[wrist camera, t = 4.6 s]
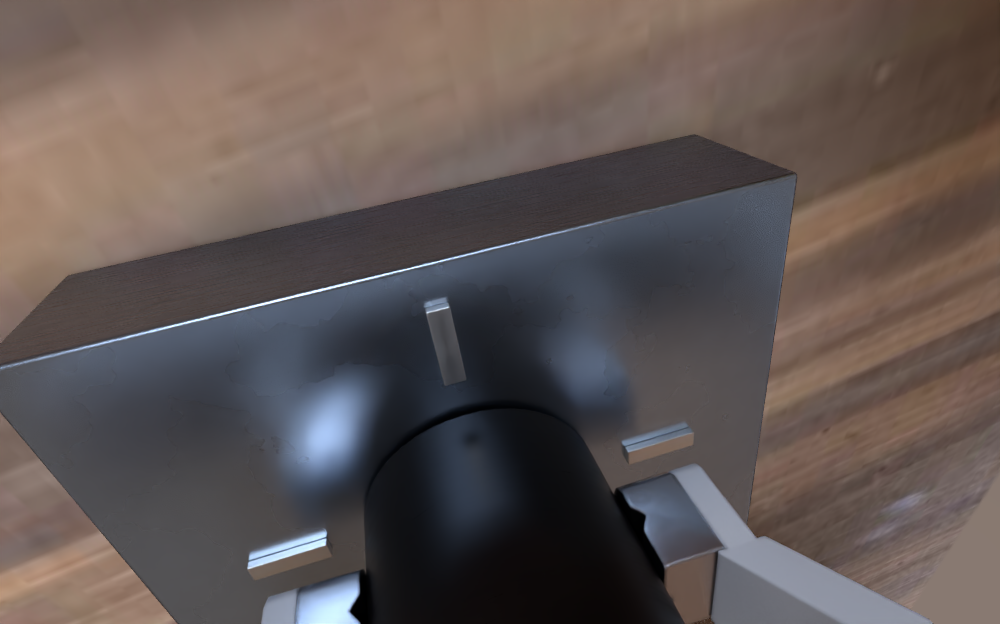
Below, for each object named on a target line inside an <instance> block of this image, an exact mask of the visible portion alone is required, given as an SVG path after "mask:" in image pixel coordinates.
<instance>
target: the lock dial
mask: <svg viewBox="0 0 1000 624" xmlns="http://www.w3.org/2000/svg"><path fill="white" fill-rule="evenodd" d="M364 534H365V557H366V581H367V604H368V624H685V623H684V621H683V619H682V617H681V615H680V613H679V612H678V610H677V608H676V606H675V604H674V603H673V601H672V599H671V597H670V595H669V593H668V592H667V590H666V588H665V586H664V584H663V583H662V581H661V579H660V577H659V575H658V573H657V572H656V570H655V568H654V566H653V564H652V563H651V561H650V559H649V557H648V555H647V553H646V552H645V550H644V548H643V546H642V544H641V543H640V541H639V539H638V537H637V535H636V533H635V532H634V530H633V528H632V526H631V524H630V522H629V521H628V519H627V517H626V515H625V513H624V512H623V510H622V508H621V506H620V504H619V502H618V501H617V499H616V497H615V495H614V493H613V492H612V490H611V488H610V486H609V484H608V482H607V481H606V479H605V477H604V475H603V473H602V472H601V470H600V468H599V466H598V464H597V462H596V461H595V459H594V457H593V455H592V453H591V452H590V450H589V448H588V446H587V445H586V443H585V442H584V440H583V439H582V438H581V437H580V435H579V434H578V433H577V432H576V431H575V430H573V429H572V428H571V427H569V426H568V425H567V424H565V423H563V422H561V421H560V420H558V419H556V418H554V417H552V416H549V415H546V414H543V413H541V412H536V411H531V410H527V409H516V408H495V409H487V410H480V411H475V412H471V413H466V414H462V415H460V416H457V417H454V418H451V419H448V420H445V421H443V422H441V423H439V424H436V425H434V426H432V427H430V428H428V429H427V430H425V431H423V432H422V433H420V434H418V435H416V436H415V437H414V438H412V439H411V440H410V441H408V442H407V443H406V444H404V445H403V446H402V447H401V448H400V449H399V450H398V451H396V452H395V453H394V454H393V455H392V456H391V457H390V459H389V460H388V461H387V462H386V463H385V464H384V466H383V467H382V468H381V470H380V471H379V473H378V474H377V476H376V478H375V479H374V481H373V483H372V486H371V488H370V490H369V492H368V495H367V499H366V503H365V508H364Z"/></svg>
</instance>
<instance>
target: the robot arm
mask: <svg viewBox="0 0 1000 624" xmlns="http://www.w3.org/2000/svg"><path fill="white" fill-rule="evenodd" d="M614 495H615V497H616V499H617V501H618V502H619V504H620V506H621V508H622V510H623V512H624V513H625V515H626V517H627V519H628V521H629V522H630V524H631V526H632V528H633V530H634V532H635V533H636V535H637V537H638V539H639V541H640V543H641V544H642V546H643V548H644V550H645V552H646V553H647V555H648V557H649V559H650V561H651V563H652V564H653V566H654V568H655V570H656V572H657V573H658V575H659V577H660V579H661V581H662V583H663V584H664V586H665V588H666V590H667V592H668V593H669V595H670V597H671V599H672V601H673V603H674V604H675V606H676V608H677V610H678V612H679V613H680V615H681V617H682V619H683V621H684V623H685V624H692V623H695V622H698V621H701V620H704V619H707V618H711V621H712V622H714V623H715V624H933V623H932V622H931V621H930V620H929V619H928V618H926V617H924V616H922V615H920V614H918V613H916V612H914V611H912V610H910V609H908V608H906V607H904V606H902V605H900V604H898V603H896V602H894V601H893V600H891V599H889V598H887V597H885V596H883V595H881V594H879V593H877V592H875V591H873V590H871V589H869V588H867V587H865V586H863V585H861V584H859V583H857V582H855V581H853V580H851V579H849V578H847V577H845V576H843V575H841V574H839V573H837V572H835V571H833V570H831V569H830V568H828V567H826V566H824V565H822V564H820V563H818V562H816V561H814V560H812V559H810V558H808V557H806V556H804V555H802V554H800V553H798V552H796V551H794V550H792V549H790V548H788V547H786V546H784V545H782V544H780V543H778V542H776V541H774V540H772V539H770V538H769V537H767V536H762V537H758V538H756V537H755V535H754V534H753V533H752V531H751V530H750V529H749V528H748V526H747V525H746V524H745V522H744V521H743V520H742V519H741V517H740V516H739V515H738V513H737V512H736V511H735V510H734V508H733V507H732V506H731V504H730V503H729V502H728V501H727V499H726V498H725V497H724V496H723V494H722V493H721V492H720V490H719V489H718V488H717V487H716V485H715V484H714V483H713V481H712V480H711V479H710V478H709V476H708V475H707V474H706V472H705V471H704V470H703V469H702V467H701V466H699V465H697V464H696V463H693V464H689V465H686V466H683V467H680V468H677V469H674V470H671V471H668V472H666V471H665V472H662V473H659V474H656V475H653V476H650V477H647V478H644V479H641V480H638V481H635V482H632V483H629V484H626V485H623V486H620V487H617V488H616V489H615V491H614ZM261 624H368V604H367V581H366V572H365V570H364V569H361V570H357V571H354V572H351V573H347V574H344V575H340V576H337V577H334V578H330V579H327V580H323V581H320V582H317V583H313V584H310V585H306V586H303V587H299V588H296V589H292V590H289V591H286V592H283V593H280V594H276V595H273V596H270V597H268V599H267V601H266V603H265V606H264V608H263V613H262V621H261Z"/></svg>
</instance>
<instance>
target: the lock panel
mask: <svg viewBox="0 0 1000 624" xmlns="http://www.w3.org/2000/svg"><path fill="white" fill-rule="evenodd" d="M796 183H797V174H796V173H795V172H793V171H790V170H787V169H785V168H782V167H780V166H777V165H774V164H772V163H769V162H766V161H764V160H761V159H759V158H756V157H753V156H751V155H748V154H746V153H743V152H740V151H738V150H735V149H732V148H730V147H727V146H725V145H722V144H719V143H717V142H714V141H712V140H709V139H706V138H704V137H701V136H698V135H695V134H694V135H689V136H685V137H680V138H676V139H672V140H667V141H663V142H658V143H654V144H649V145H645V146H641V147H636V148H632V149H627V150H623V151H618V152H614V153H610V154H605V155H601V156H596V157H592V158H587V159H583V160H578V161H574V162H570V163H565V164H561V165H556V166H552V167H547V168H543V169H539V170H534V171H530V172H525V173H521V174H516V175H512V176H507V177H503V178H499V179H494V180H490V181H485V182H481V183H476V184H472V185H468V186H463V187H459V188H454V189H450V190H445V191H441V192H437V193H432V194H428V195H423V196H419V197H414V198H410V199H405V200H401V201H397V202H392V203H388V204H383V205H379V206H374V207H370V208H366V209H361V210H357V211H352V212H348V213H343V214H339V215H334V216H330V217H326V218H321V219H317V220H312V221H308V222H303V223H299V224H295V225H290V226H286V227H281V228H277V229H272V230H268V231H263V232H259V233H255V234H250V235H246V236H241V237H237V238H232V239H228V240H224V241H219V242H215V243H210V244H206V245H201V246H197V247H193V248H188V249H184V250H179V251H175V252H170V253H166V254H161V255H157V256H153V257H148V258H144V259H139V260H135V261H130V262H126V263H122V264H117V265H113V266H108V267H104V268H99V269H95V270H90V271H86V272H82V273H77V274H73V275H68V276H67V277H66V278H65V279H64V280H63V281H62V282H61V283H60V284H59V285H58V286H57V287H56V288H55V289H54V290H53V291H52V292H51V293H50V294H49V295H48V296H47V297H46V298H45V299H44V300H43V301H42V302H41V303H40V304H39V305H38V306H37V307H36V308H35V309H34V310H33V311H32V312H31V313H30V314H29V315H28V316H27V317H26V318H25V319H24V320H23V321H22V322H21V323H20V324H19V325H18V326H17V327H16V328H15V329H14V330H13V331H12V332H11V333H10V334H9V335H8V336H7V337H6V338H5V339H4V340H3V341H2V342H1V343H0V412H1V414H2V415H3V416H4V417H5V418H6V420H7V421H8V422H9V423H10V424H11V426H12V427H13V428H14V429H15V430H16V431H17V433H18V434H19V435H20V436H21V437H22V439H23V440H24V441H25V442H26V443H27V445H28V446H29V447H30V448H31V449H32V451H33V452H34V453H35V454H36V455H37V457H38V458H39V459H40V460H41V461H42V463H43V464H44V465H45V466H46V467H47V468H48V470H49V471H50V472H51V473H52V474H53V476H54V477H55V478H56V479H57V480H58V482H59V483H60V484H61V485H62V486H63V488H64V489H65V490H66V491H67V492H68V494H69V495H70V496H71V497H72V498H73V499H74V501H75V502H76V503H77V504H78V505H79V507H80V508H81V509H82V510H83V511H84V513H85V514H86V515H87V516H88V517H89V519H90V520H91V521H92V522H93V523H94V525H95V526H96V527H97V528H98V529H99V531H100V532H101V533H102V534H103V535H104V536H105V538H106V539H107V540H108V541H109V542H110V544H111V545H112V546H113V547H114V548H115V550H116V551H117V552H118V553H119V554H120V556H121V557H122V558H123V559H124V560H125V562H126V563H127V564H128V565H129V566H130V567H131V569H132V570H133V571H134V572H135V573H136V575H137V576H138V577H139V578H140V579H141V581H142V582H143V583H144V584H145V585H146V587H147V588H148V589H149V590H150V591H151V593H152V594H153V595H154V596H155V597H156V599H157V600H158V601H159V602H160V603H161V604H162V606H163V607H164V608H165V609H166V610H167V612H168V613H169V614H170V615H171V616H172V618H173V619H174V620H175V621H176V622H177V624H261V621H262V613H263V608H264V606H265V603H266V601H267V599H268V597H270V596H273V595H276V594H280V593H283V592H286V591H289V590H292V589H296V588H299V587H303V586H306V585H310V584H313V583H317V582H320V581H323V580H327V579H330V578H334V577H337V576H340V575H344V574H347V573H351V572H354V571H357V570H361V569H364V570H365V572H366V557H365V534H364V508H365V503H366V499H367V495H368V492H369V490H370V488H371V486H372V483H373V481H374V479H375V478H376V476H377V474H378V473H379V471H380V470H381V468H382V467H383V466H384V464H385V463H386V462H387V461H388V460H389V459H390V457H391V456H392V455H393V454H394V453H395V452H396V451H398V450H399V449H400V448H401V447H402V446H403V445H404V444H406V443H407V442H408V441H410V440H411V439H412V438H414V437H415V436H416V435H418V434H420V433H422V432H423V431H425V430H427V429H428V428H430V427H432V426H434V425H436V424H439V423H441V422H443V421H445V420H448V419H451V418H454V417H457V416H460V415H462V414H466V413H471V412H475V411H480V410H487V409H495V408H516V409H527V410H531V411H536V412H541V413H543V414H546V415H549V416H552V417H554V418H556V419H558V420H560V421H561V422H563V423H565V424H567V425H568V426H569V427H571V428H572V429H573V430H575V431H576V432H577V433H578V434H579V435H580V437H581V438H582V439H583V440H584V442H585V443H586V445H587V446H588V448H589V450H590V452H591V453H592V455H593V457H594V459H595V461H596V462H597V464H598V466H599V468H600V470H601V472H602V473H603V475H604V477H605V479H606V481H607V482H608V484H609V486H610V488H611V490H612V492H613V493H614V491H615V489H616V488H617V487H620V486H623V485H626V484H629V483H632V482H635V481H638V480H641V479H644V478H647V477H650V476H653V475H656V474H659V473H662V472H665V471H666V472H668V471H671V470H674V469H677V468H680V467H683V466H686V465H689V464H693V463H696V464H697V465H699V466H701V467H702V469H703V470H704V471H705V472H706V474H707V475H708V476H709V478H710V479H711V480H712V481H713V483H714V484H715V485H716V487H717V488H718V489H719V490H720V492H721V493H722V494H723V496H724V497H725V498H726V499H727V501H728V502H729V503H730V504H731V506H732V507H733V508H734V510H735V511H736V512H737V513H738V515H739V516H740V517H741V519H742V520H743V521H744V522H745V524H746V525H747V521H748V514H749V507H750V500H751V494H752V487H753V480H754V473H755V466H756V459H757V452H758V445H759V438H760V431H761V424H762V418H763V411H764V404H765V397H766V390H767V383H768V376H769V369H770V362H771V355H772V348H773V342H774V335H775V328H776V321H777V314H778V307H779V300H780V293H781V286H782V279H783V272H784V266H785V259H786V252H787V245H788V238H789V231H790V224H791V217H792V210H793V203H794V196H795V190H796Z"/></svg>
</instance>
